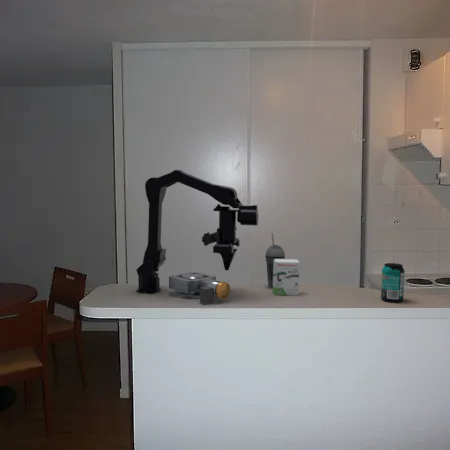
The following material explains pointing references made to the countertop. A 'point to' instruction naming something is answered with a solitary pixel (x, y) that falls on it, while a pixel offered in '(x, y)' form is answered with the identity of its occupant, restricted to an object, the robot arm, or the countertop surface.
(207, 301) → the block
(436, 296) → the countertop surface
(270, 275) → the beverage cup
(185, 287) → the flanged pipe fitting
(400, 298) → the beverage can
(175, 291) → the duct stub
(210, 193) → the robot arm
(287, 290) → the ink box
